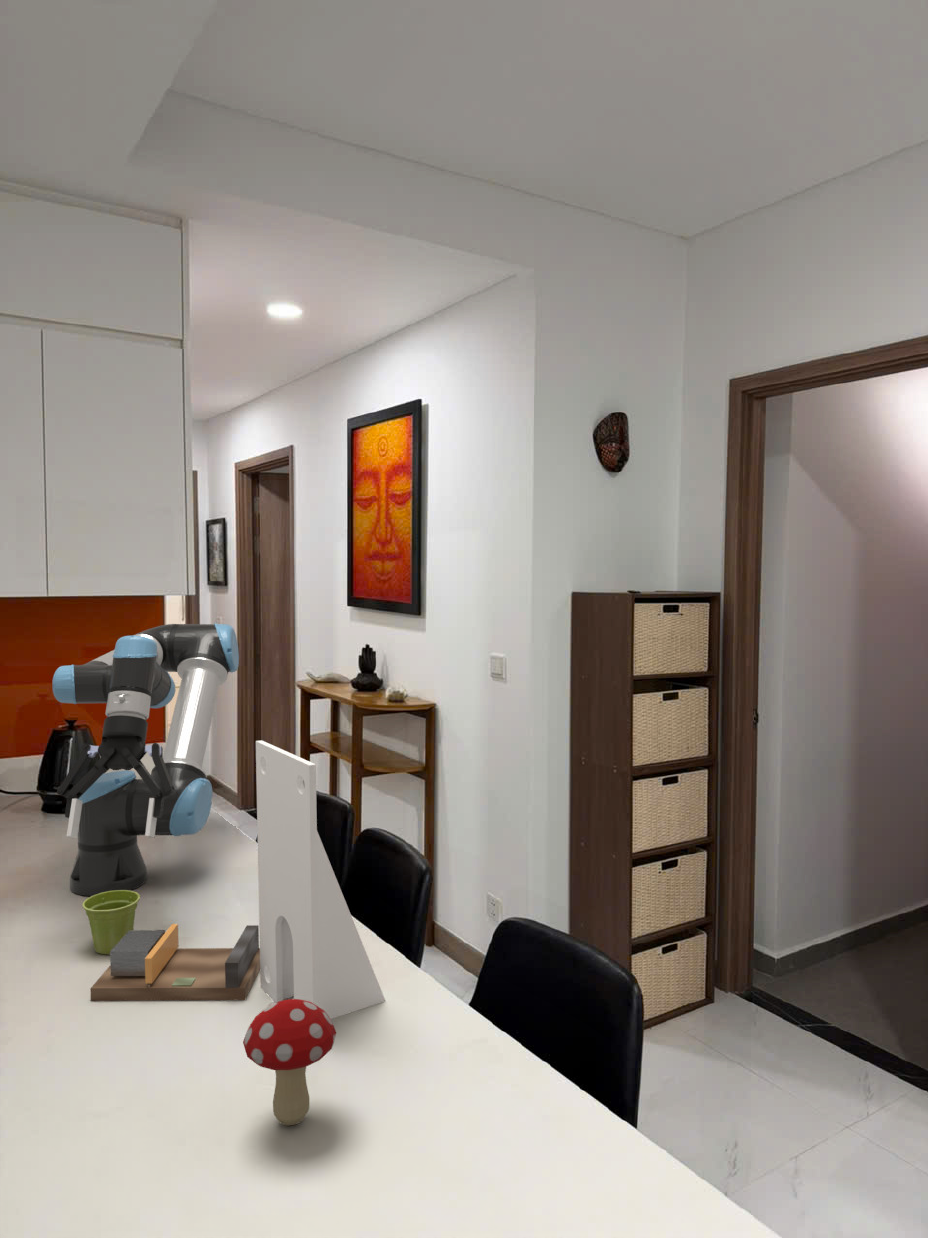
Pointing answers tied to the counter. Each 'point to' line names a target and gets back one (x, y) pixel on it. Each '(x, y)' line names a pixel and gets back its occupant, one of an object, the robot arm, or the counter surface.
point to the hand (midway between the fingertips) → (110, 837)
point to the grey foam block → (133, 952)
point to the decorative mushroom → (289, 1051)
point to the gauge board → (191, 975)
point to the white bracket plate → (303, 897)
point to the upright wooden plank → (161, 953)
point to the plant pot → (110, 917)
